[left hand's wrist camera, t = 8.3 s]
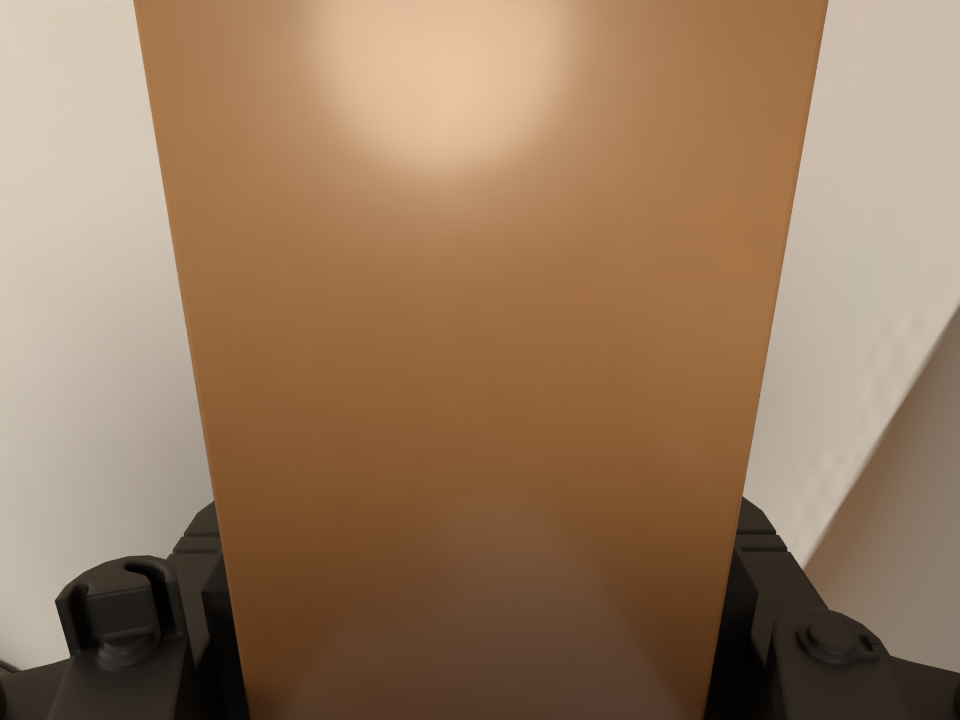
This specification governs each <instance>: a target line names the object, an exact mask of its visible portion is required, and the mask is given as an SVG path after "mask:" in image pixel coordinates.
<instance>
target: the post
mask: <svg viewBox="0 0 960 720" xmlns="http://www.w3.org/2000/svg"><path fill="white" fill-rule="evenodd" d="M133 1H134V7H135V13H136V19H137V25H138V32H139V38H140V44H141V50H142V56H143V63H144V69H145V75H146V81H147V87H148V93H149V100H150V106H151V112H152V118H153V124H154V130H155V137H156V143H157V149H158V155H159V161H160V168H161V174H162V180H163V186H164V192H165V198H166V205H167V211H168V217H169V223H170V229H171V235H172V242H173V248H174V254H175V260H176V266H177V273H178V279H179V285H180V291H181V297H182V303H183V310H184V316H185V322H186V328H187V334H188V341H189V347H190V353H191V359H192V365H193V371H194V378H195V384H196V390H197V396H198V402H199V408H200V415H201V421H202V427H203V433H204V439H205V446H206V452H207V458H208V464H209V470H210V476H211V483H212V489H213V495H214V501H215V507H216V513H217V520H218V526H219V532H220V538H221V544H222V551H223V557H224V563H225V569H226V575H227V581H228V588H229V594H230V600H231V606H232V612H233V618H234V625H235V631H236V637H237V643H238V649H239V656H240V662H241V668H242V674H243V680H244V686H245V693H246V699H247V705H248V711H249V717H250V720H704V714H705V708H706V703H707V697H708V691H709V685H710V680H711V674H712V668H713V662H714V657H715V651H716V645H717V639H718V634H719V628H720V622H721V616H722V611H723V605H724V599H725V593H726V587H727V582H728V576H729V570H730V564H731V559H732V553H733V547H734V541H735V536H736V530H737V524H738V518H739V513H740V507H741V501H742V495H743V489H744V484H745V478H746V472H747V466H748V461H749V455H750V449H751V443H752V438H753V432H754V426H755V420H756V415H757V409H758V403H759V397H760V391H761V386H762V380H763V374H764V368H765V363H766V357H767V351H768V345H769V340H770V334H771V328H772V322H773V317H774V311H775V305H776V299H777V293H778V288H779V282H780V276H781V270H782V265H783V259H784V253H785V247H786V242H787V236H788V230H789V224H790V219H791V213H792V207H793V201H794V195H795V190H796V184H797V178H798V172H799V167H800V161H801V155H802V149H803V144H804V138H805V132H806V126H807V121H808V115H809V109H810V103H811V97H812V92H813V86H814V80H815V74H816V69H817V63H818V57H819V51H820V46H821V40H822V34H823V28H824V23H825V17H826V11H827V5H828V0H133Z"/></svg>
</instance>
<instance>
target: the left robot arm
mask: <svg viewBox="0 0 960 720" xmlns="http://www.w3.org/2000/svg"><path fill="white" fill-rule="evenodd" d="M55 603H56V607H57V610H58V614H59V617H60V621H61V624H62V628H63V631H64V635H65V638H66V642H67V645H68V648H69V652H70V655H71V656H70V658H69V659H66V660H62V661H59V662H56V663H53V664H49V665H45V666H40V667H36V668H32V669H28V670H23V671H19V672H15V673H10V672H8V671H6V670H5V669H3V668H1V667H0V720H250V717H249V711H248V705H247V699H246V693H245V686H244V680H243V674H242V668H241V662H240V656H239V649H238V643H237V637H236V631H235V625H234V618H233V612H232V606H231V600H230V594H229V588H228V581H227V575H226V569H225V563H224V557H223V551H222V544H221V538H220V532H219V526H218V520H217V513H216V507H215V501H213V502H212V503H211V504H209V505H208V506H206V507H205V508H204V509H202V510H201V511H200V512H198V513H197V515H196V516H195V518H194V519H193V521H192V522H191V524H190V525H189V527H188V528H187V529H186V531H185V532H184V537H181V538H180V540H179V541H178V543H177V544H176V546H175V547H174V549H173V554H170V555H169V556H168V558H167V559H162V558H158V557H154V556H150V555H146V556H127V557H124V558H120V559H116V560H112V561H108V562H105V563H103V564H100V565H98V566H96V567H94V568H92V569H90V570H88V571H85V572H83V573H82V574H81V575H79V576H78V577H77V578H75V579H74V580H73V581H71V582H70V583H69V584H67V585H66V586H65V587H64V589H63V590H62V592H61V593H60V594H59V596H58V597H57V598H56V600H55ZM704 720H960V673H957V672H953V671H949V670H944V669H940V668H936V667H931V666H927V665H923V664H919V663H914V662H910V661H906V660H903V659H900V658H897V657H893V656H890V655H889V653H888V651H887V650H886V648H885V647H884V645H883V644H882V642H881V640H880V639H879V638H878V637H877V636H876V635H874V634H873V633H872V632H871V631H870V630H869V629H867V628H866V627H865V626H864V625H863V624H861V623H859V622H857V621H855V620H853V619H851V618H849V617H847V616H846V615H844V614H842V613H838V612H835V611H831V610H829V609H828V607H827V606H826V604H825V603H824V601H823V600H822V598H821V597H820V596H819V594H818V593H817V591H816V590H815V588H814V587H813V585H812V584H811V582H810V581H809V579H808V578H807V576H806V575H805V573H804V572H803V570H802V569H801V567H800V566H799V564H798V563H797V561H796V560H795V558H794V557H793V555H792V554H791V552H788V551H787V547H786V545H785V544H784V542H783V541H782V539H781V538H780V536H779V535H776V530H775V529H774V527H773V526H772V524H771V523H770V521H769V520H768V518H767V517H766V515H765V514H764V512H763V511H762V510H761V509H759V508H758V507H756V506H755V505H754V504H752V503H751V502H750V501H748V500H747V499H745V498H744V497H743V496H742V501H741V507H740V513H739V518H738V524H737V530H736V536H735V541H734V547H733V553H732V559H731V564H730V570H729V576H728V582H727V587H726V593H725V599H724V605H723V611H722V616H721V622H720V628H719V634H718V639H717V645H716V651H715V657H714V662H713V668H712V674H711V680H710V685H709V691H708V697H707V703H706V708H705V714H704Z"/></svg>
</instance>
